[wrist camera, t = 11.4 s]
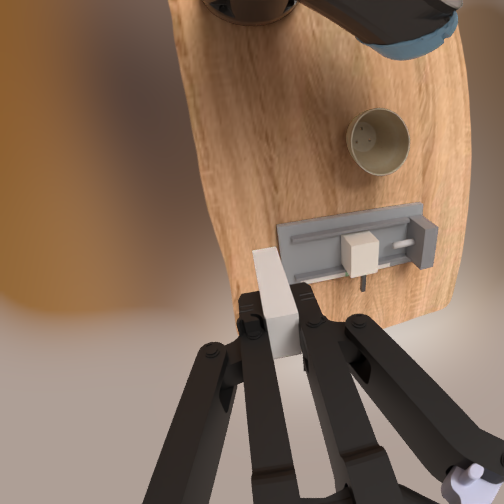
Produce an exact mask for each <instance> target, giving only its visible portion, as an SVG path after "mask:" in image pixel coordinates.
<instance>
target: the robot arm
mask: <svg viewBox="0 0 504 504" xmlns="http://www.w3.org/2000/svg"><path fill="white" fill-rule="evenodd" d="M203 2H204V4H205V5H206V6H207V8H208V9H209V10H210V11H211V12H212V13H214V14H215V15H216V16H218V17H219V18H221V19H223V20H225V21H228V22H231V23H234V24H239V25H246V26H258V25H265V24H269V23H272V22H275V21H277V20H279V19H281V18H283V17H285V16H286V15H287V14H289V13H290V12H291V11H292V10H293V8H294V7H295V6H296V4H297V3H298V2H299V3H301V4H303V5H305V6H307V7H309V8H310V9H312V10H314V11H316V12H317V13H319V14H321V15H323V16H324V17H326V18H328V19H329V20H331V21H332V22H334V23H336V24H337V25H339V26H340V27H342V28H343V29H345V30H346V31H348V32H349V33H351V34H352V35H354V36H355V38H356V39H357V40H358V41H359V42H361V43H362V44H365V45H366V46H369V47H371V48H372V49H374V50H375V51H377V52H378V53H379V54H381V55H382V56H384V57H387V58H389V59H393V60H401V61H402V60H411V59H415V58H418V57H421V56H423V55H426V54H428V53H430V52H432V51H433V50H435V49H437V48H438V47H439V46H441V45H442V44H443V43H444V39H445V38H448V37H450V36H451V35H452V34H453V33H454V31H455V29H456V27H457V24H458V16H457V13H456V10H458V9H459V8H461V7H462V5H463V0H203ZM252 253H253V258H254V264H255V270H256V275H257V281H258V287H259V291H256V292H250V293H244V294H241V296H240V298H239V300H238V303H239V315H240V317H239V318H238V320H237V328H238V332H239V337H238V338H237V339H236V340H235V341H234V342H231V343H230V344H227V345H225V346H224V345H223V344H222V343H219V342H210V343H208V344H205V345H204V346H202V347H201V348H200V350H199V352H198V354H197V357H196V359H195V362H194V365H193V367H192V370H191V372H190V375H189V378H188V380H187V383H186V386H185V388H184V391H183V394H182V396H181V399H180V401H179V405H178V407H177V410H176V413H175V415H174V418H173V421H172V423H171V426H170V429H169V431H168V434H167V437H166V439H165V442H164V445H163V448H162V451H161V453H160V456H159V459H158V462H157V464H156V467H155V470H154V472H153V475H152V478H151V481H150V484H149V486H148V489H147V492H146V495H145V498H144V500H143V503H142V504H209V500H210V496H211V492H212V488H213V484H214V480H215V476H216V472H217V468H218V464H219V460H220V456H221V452H222V448H223V444H224V440H225V436H226V432H227V428H228V424H229V419H230V415H231V411H232V407H233V403H234V399H235V394H236V390H237V384H240V383H242V382H244V391H245V402H246V412H247V423H248V433H249V443H250V453H251V463H252V476H251V483H252V493H253V502H254V504H439V503H437V502H435V501H433V500H431V499H429V498H427V497H425V496H422V495H421V494H419V493H417V492H415V491H413V490H411V489H409V488H407V487H405V486H403V485H401V484H398V483H397V480H396V477H395V474H394V471H393V469H392V466H391V463H390V461H389V458H388V455H387V453H386V451H385V449H384V448H383V447H382V446H379V444H378V442H377V440H376V438H375V435H374V432H373V429H372V427H371V424H370V422H369V419H368V416H367V414H366V411H365V408H364V406H363V403H362V401H361V398H360V396H359V393H358V391H357V388H356V386H355V383H354V381H353V378H352V376H351V374H352V375H353V376H354V378H355V379H356V380H357V381H358V383H359V384H360V385H361V387H362V388H363V389H364V390H365V392H366V393H367V394H368V395H369V397H370V398H371V399H372V400H373V402H374V403H375V404H376V406H377V407H378V408H379V409H380V411H381V412H382V413H383V414H384V416H385V417H386V418H387V420H389V422H390V423H391V425H392V426H393V427H394V428H395V429H396V431H397V432H398V434H399V435H400V436H401V437H402V439H403V440H404V441H405V442H406V444H407V445H408V446H409V448H410V449H411V450H412V451H413V453H414V454H415V455H416V456H417V458H418V459H419V460H420V461H421V463H422V464H423V465H424V466H425V468H426V469H427V470H428V471H429V472H430V473H431V474H432V475H433V476H434V477H435V478H436V479H437V480H439V481H440V482H442V486H441V493H442V496H443V498H445V499H446V500H447V501H448V502H449V504H491V503H492V501H493V499H494V497H495V496H496V494H497V491H498V490H499V488H500V486H501V485H502V483H503V482H504V440H502V439H500V438H498V437H496V436H493V435H492V434H490V433H488V432H485V431H483V430H482V429H480V428H479V427H478V426H477V425H476V424H475V423H474V422H473V421H472V420H471V419H470V418H469V417H468V415H467V414H465V412H464V411H463V410H462V409H461V408H460V407H459V406H458V405H457V404H456V403H455V402H454V401H453V400H452V399H451V398H450V397H449V396H448V394H446V392H445V391H443V389H442V388H441V387H440V386H439V385H438V384H437V383H436V382H435V381H434V380H433V379H432V378H431V377H430V376H429V375H428V374H427V373H426V372H425V371H424V370H423V369H422V368H421V367H420V366H419V365H418V364H417V363H416V362H415V361H414V360H413V359H412V358H411V357H410V356H409V355H408V354H407V353H406V352H405V351H404V350H403V349H402V348H401V347H400V346H399V345H398V344H397V343H396V342H395V341H394V340H393V339H392V338H391V337H390V336H389V335H388V334H387V333H386V332H385V331H384V330H383V329H382V328H381V327H380V326H379V325H378V324H377V323H376V322H375V321H374V320H372V319H371V318H370V317H369V316H367V315H364V314H354V315H351V316H350V317H348V318H347V320H346V322H334V321H330V320H328V319H327V318H326V316H324V315H323V314H322V312H321V310H320V307H319V305H318V303H317V300H316V298H315V296H314V293H313V291H312V289H311V287H310V286H309V285H308V284H307V283H305V282H301V283H296V284H290V285H289V283H288V280H287V277H286V274H285V271H284V268H283V266H282V263H281V260H280V257H279V254H278V251H277V248H276V246H275V247H270V248H264V249H259V250H253V251H252ZM301 350H302V353H303V364H304V371H306V373H307V377H308V380H309V384H310V388H311V391H312V395H313V398H314V402H315V406H316V410H317V413H318V417H319V421H320V425H321V428H322V432H323V436H324V440H325V444H326V447H327V451H328V455H329V459H330V463H331V467H332V471H333V474H334V479H335V488H336V493H335V494H333V495H331V496H328V497H326V498H300V495H299V489H298V485H297V479H296V474H295V469H294V465H293V460H292V454H291V449H290V444H289V438H288V433H287V428H286V423H285V418H284V412H283V407H282V403H281V397H280V392H279V386H278V382H277V376H276V371H275V365H274V360H273V359H278V358H283V357H288V356H293V355H298V354H301Z"/></svg>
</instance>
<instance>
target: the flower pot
mask: <svg viewBox="0 0 504 504" xmlns="http://www.w3.org/2000/svg"><path fill="white" fill-rule="evenodd" d="M369 139H371V140H369ZM356 142H358V143H356ZM346 143H347V147H348V150H349V153H350V154H351V156H352V158H353V159H354V161H355V162H356V163H357V164H358V165H359V166H360V167H361V168H362V169H363V170H365V171H366V172H368V173H370V174H372V175H376V176H385V175H389V174H391V173H394V172H395V171H397V170H398V169H399V168H400V167H401V166H402V165H403V163H404V162H405V160H406V159H407V156H408V153H409V149H410V136H409V131H408V129H407V126H406V124H405V123H404V121H403V120H402V119H401V117H400V116H398V115H397V114H396V113H395V112H393V111H391V110H388V109H384V108H375V109H370V110H367V111H365V112H363V113H361V114H359V115H358V116H356V117H355V118H354V119H353V120H352V122H351V123H350V125H349V127H348V129H347V133H346Z"/></svg>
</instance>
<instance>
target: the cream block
mask: <svg viewBox="0 0 504 504" xmlns="http://www.w3.org/2000/svg"><path fill="white" fill-rule="evenodd" d="M378 256H379V240H378V239H377V238H376V237H375V236H374V235H373V234H372V233H371V232H370V231H369V230H364V231H358V232H353V233H347V234H341V264H342V265H343V267H344V268H345V270H346V271H347V273H348V274H349V276H350V277H351V278H354V277H359V276H361V285H360V290H361V292H364V291H365V287H366V275H368V274H372V273H377V272H378Z"/></svg>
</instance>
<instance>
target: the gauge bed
mask: <svg viewBox="0 0 504 504" xmlns="http://www.w3.org/2000/svg"><path fill="white" fill-rule="evenodd" d="M422 215H423V204H422V203H421V202H416V203H409V204H402V205H395V206H389V207H382V208H376V209H369V210H363V211H356V212H350V213H344V214H337V215H331V216H325V217H319V218H313V219H307V220H301V221H295V222H289V223H283V224H278V225H276V227H277V234H278V242H279V250H280V257H281V263H282V266H283V268H284V271H285V274H286V277H287V280H288V283H289V285H290V284H296V283H301V282H305V283H307V284H310V283H315V282H320V281H325V280H330V279H335V278H340V277H346V276H349V274H348V273H347V271H346V270H345V268H344V267H343V265H342V264H341V234H347V233H353V232H358V231H364V230H369V231H370V232H371V233H372V234H373V235H374V236H375V237H376V238H377V239H378V240H379V256H378V269H381V268H386V267H390V266H394V265H398V264H403V263H407V262H411V261H412V262H413V263H414V264H415V265H416V266H417V267H418V268H419V269H420V270H422V269H426V268H430V267H433V263H434V256H435V250H436V242H437V234H438V226H436V225H435V224H433V223H432V222H431V221H429V220H428V219H426V218H425V217H424V216H422Z"/></svg>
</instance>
